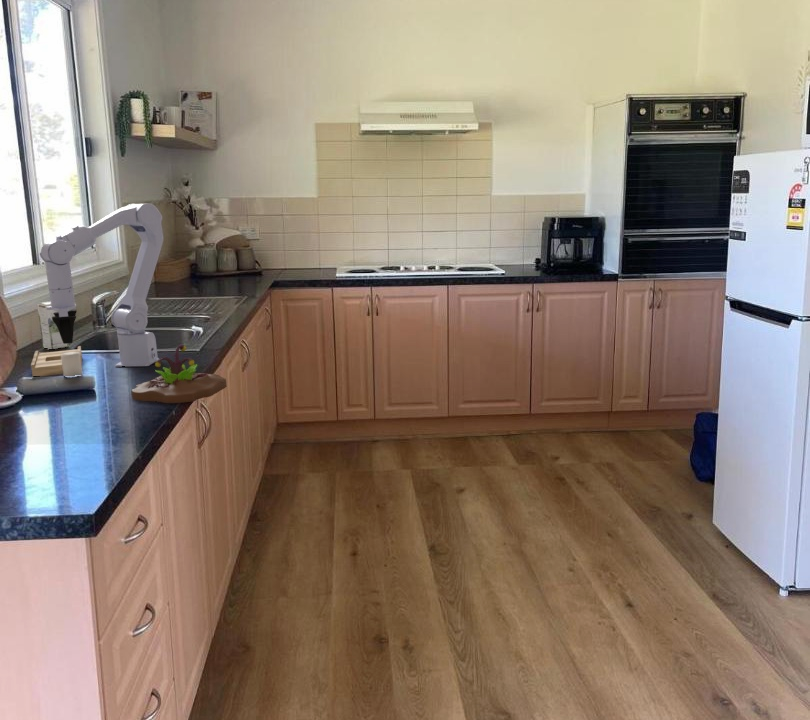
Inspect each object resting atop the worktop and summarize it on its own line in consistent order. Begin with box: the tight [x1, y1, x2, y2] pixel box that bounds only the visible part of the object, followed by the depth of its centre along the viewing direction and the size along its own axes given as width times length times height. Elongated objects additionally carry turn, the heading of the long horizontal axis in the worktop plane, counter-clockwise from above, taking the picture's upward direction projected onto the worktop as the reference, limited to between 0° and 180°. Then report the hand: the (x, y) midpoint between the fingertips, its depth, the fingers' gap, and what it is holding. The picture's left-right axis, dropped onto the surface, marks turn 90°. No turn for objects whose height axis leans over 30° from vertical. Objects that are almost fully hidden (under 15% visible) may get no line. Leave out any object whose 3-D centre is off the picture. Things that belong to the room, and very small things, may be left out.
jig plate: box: [30, 345, 83, 377], centre depth 213 cm, size 20×12×3 cm, turn 22°
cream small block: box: [61, 352, 84, 377], centre depth 201 cm, size 5×5×6 cm
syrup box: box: [36, 300, 70, 350], centre depth 238 cm, size 6×6×14 cm
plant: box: [130, 344, 227, 404], centre depth 181 cm, size 20×20×11 cm
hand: (68, 340), depth 199 cm, fingers open, 7 cm apart
